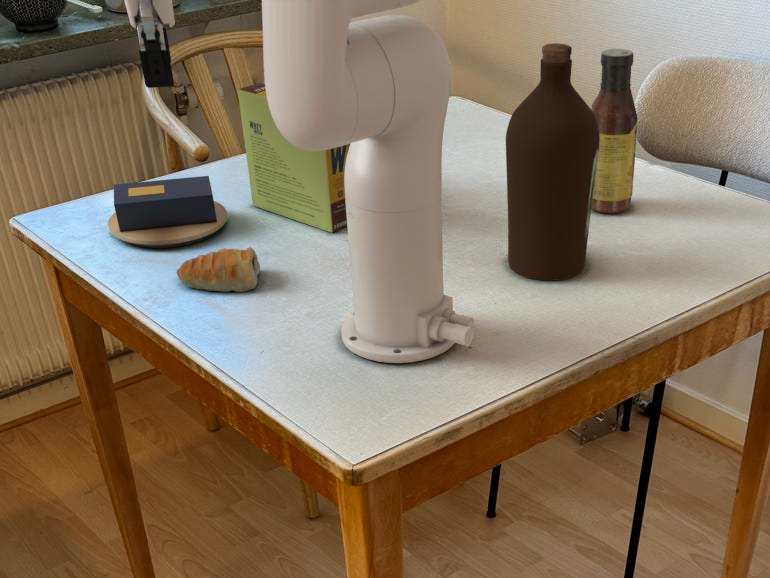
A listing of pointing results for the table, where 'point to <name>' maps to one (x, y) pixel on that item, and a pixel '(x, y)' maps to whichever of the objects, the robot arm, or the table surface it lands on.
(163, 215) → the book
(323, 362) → the table surface
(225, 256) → the pastry
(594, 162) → the olive oil
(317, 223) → the protein box
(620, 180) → the sauce bottle
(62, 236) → the table surface
